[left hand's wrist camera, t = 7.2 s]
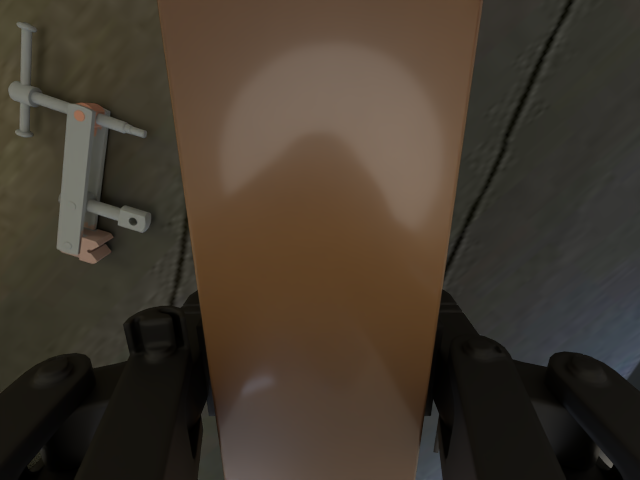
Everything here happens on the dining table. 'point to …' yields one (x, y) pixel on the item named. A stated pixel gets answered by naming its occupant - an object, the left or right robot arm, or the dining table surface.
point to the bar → (319, 219)
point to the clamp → (78, 164)
